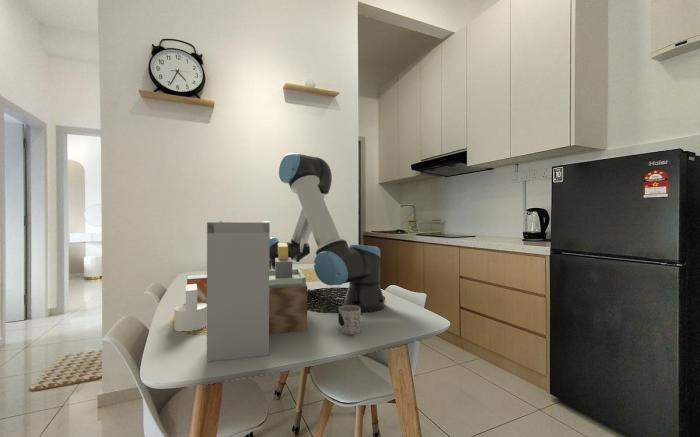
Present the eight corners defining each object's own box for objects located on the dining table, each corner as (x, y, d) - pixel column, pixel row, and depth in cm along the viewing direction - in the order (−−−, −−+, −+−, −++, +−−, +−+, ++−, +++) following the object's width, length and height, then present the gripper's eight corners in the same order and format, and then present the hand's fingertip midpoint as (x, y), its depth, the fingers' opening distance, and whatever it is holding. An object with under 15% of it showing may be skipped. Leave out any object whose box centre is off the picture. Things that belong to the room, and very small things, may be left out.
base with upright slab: (208, 328, 92) (208, 288, 92) (173, 334, 88) (173, 292, 88) (206, 319, 100) (206, 282, 100) (174, 323, 96) (174, 285, 96)
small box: (186, 318, 101) (186, 278, 101) (186, 312, 106) (186, 275, 106) (213, 314, 104) (213, 276, 104) (212, 309, 110) (212, 273, 110)
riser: (301, 312, 108) (301, 275, 108) (307, 330, 91) (307, 286, 91) (262, 315, 104) (263, 277, 104) (261, 334, 88) (261, 289, 88)
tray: (300, 275, 107) (300, 268, 107) (305, 286, 92) (305, 278, 92) (264, 277, 104) (264, 270, 104) (263, 288, 88) (263, 279, 88)
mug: (337, 326, 95) (337, 305, 95) (358, 326, 95) (359, 304, 95) (339, 339, 85) (340, 315, 85) (363, 339, 85) (363, 315, 85)
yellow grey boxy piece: (288, 270, 113) (288, 242, 112) (292, 281, 94) (292, 248, 94) (274, 270, 111) (274, 243, 111) (275, 281, 93) (275, 248, 93)
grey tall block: (268, 335, 87) (269, 221, 87) (268, 355, 75) (269, 222, 75) (215, 340, 84) (216, 221, 83) (206, 361, 71) (207, 222, 71)
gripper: (312, 271, 124) (319, 250, 106) (247, 274, 118) (244, 252, 100) (311, 254, 128) (318, 231, 110) (248, 256, 122) (245, 231, 104)
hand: (282, 241), depth 105 cm, fingers open, 13 cm apart
